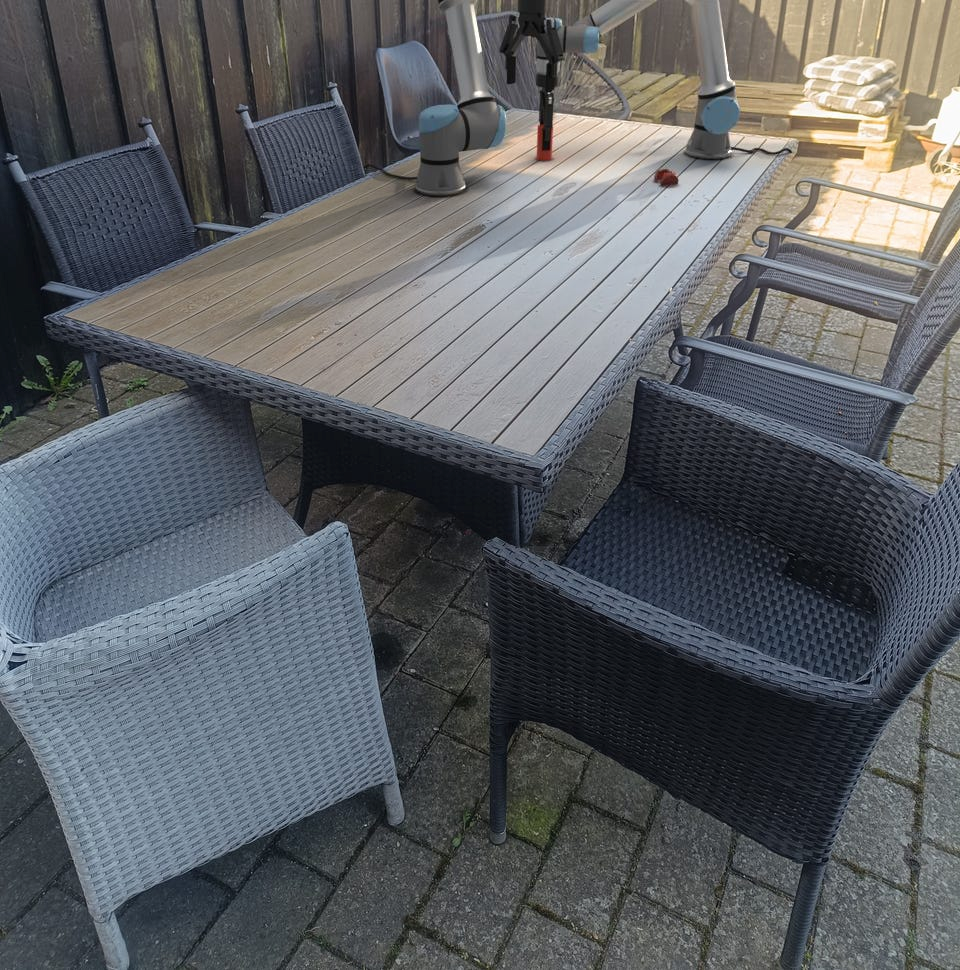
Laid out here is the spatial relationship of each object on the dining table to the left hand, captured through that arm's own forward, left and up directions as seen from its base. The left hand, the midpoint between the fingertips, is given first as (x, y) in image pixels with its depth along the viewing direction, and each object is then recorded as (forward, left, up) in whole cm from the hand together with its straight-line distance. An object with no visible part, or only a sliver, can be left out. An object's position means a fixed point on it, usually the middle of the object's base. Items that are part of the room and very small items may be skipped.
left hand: (530, 87), depth 222 cm
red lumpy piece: (+18, +50, -33) cm, 62 cm away
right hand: (-29, +50, -29) cm, 64 cm away
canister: (-29, +50, -33) cm, 66 cm away
